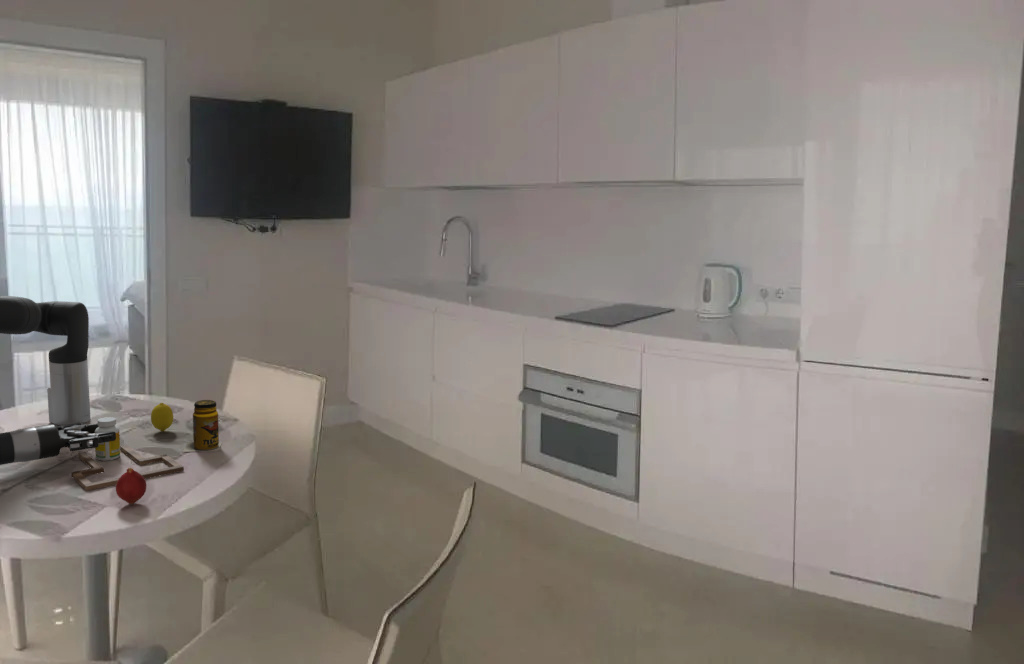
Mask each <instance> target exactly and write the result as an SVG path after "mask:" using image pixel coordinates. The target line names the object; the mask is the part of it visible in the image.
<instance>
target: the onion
mask: <svg viewBox="0 0 1024 664" xmlns="http://www.w3.org/2000/svg"><path fill="white" fill-rule="evenodd" d="M140 473H141V472H138V471H136V470H134V468H133V467H128V468H127V469H126V471H125V472H124V473H122V474H121V475H120V478H119V477H118V478H119V479H118V481H117V484H116V485H115V492H116V495H117V496H118V498H119V499H121V500H122V501H124V502H125V503H127V504H128V505H133V504H136V503H137V502H138V501H139V500H141V499H142V498H143V496H144V495H145V493H146V492H147V480H146V479H144V477H143V476H142V475H141V474H140Z"/></svg>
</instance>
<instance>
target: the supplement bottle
mask: <svg viewBox="0 0 1024 664" xmlns="http://www.w3.org/2000/svg"><path fill="white" fill-rule="evenodd" d="M97 423H98V424H97V425H98V426H99V427H98V428H96V430H95V433H94V434H98V433H105V432H111V431H114V432H115V433H116V440H115V441H110V442H104V443H99V447H97V448H94V449H95V459H96V460H98V461H102V462H105V461H113V460H117V459H118V458H120V456H121V450H120V446H121V441H120V440H121V437H120V436H121V435H120V433H121V432H120V428H119V426H117V425H116V424H117V418H116V417H113V416H106V417H101V418H98V419H97Z"/></svg>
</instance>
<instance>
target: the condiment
mask: <svg viewBox="0 0 1024 664" xmlns="http://www.w3.org/2000/svg"><path fill="white" fill-rule="evenodd" d="M193 407H194V409H193V413H192V429H193V430H192V432H193V433H192V437H193V441H188V442H186V445H185V447H184V449H183V451H182V452H183V453H186V452H187V453H188V452H189V453H190V452H191V453H192V452H195V453H196V452H200V453H201V452H205V453H206V452H219V450H220V449H221V445H222V443H223V442H222V441H220V439H219V437H220V436H219V413H218V411H217V410H218V408H217V402H216V401H215V400H212V399H202V400H197V401H195V402H194V404H193ZM219 446H220V447H219Z"/></svg>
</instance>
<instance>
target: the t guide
mask: <svg viewBox="0 0 1024 664" xmlns="http://www.w3.org/2000/svg"><path fill="white" fill-rule="evenodd" d="M120 452H122V453H124V454H125V455H126V454H127V455H126V456H128V457H129V458H130V459H131V458H132V459H131V460H133V461H134V462H135V461H136V462H135V463H137V464H138V465H139V466H143V465H149V463H150V464H153V463H154V462H155V463H160V462H163V463H164V464H165V465H167V466H168V467H164V468H160V469H154V470H150V471H144V472H139V473H140V474H141V475H142V476H143V477H144V479H145V478H146V479H150V477H151V478H155V477H154V476H156V477H160V476H159V475H161V476H166V475H170V473H171V474H174V473H175V472H176V473H180V472H184V469H185V468H184V465H181V464H180V463H179V462H177V461H176V460H175V459H173V458H172V457H170V456H169V455H168V454H160V455H156V456H150V457H143V456H142V455H141V454H139V453H138V452H136V451H135V450H134V449H133V448H131V447H130V446H128V445H127V444H124V445H120ZM78 458H79V459H80V460H81V461H82V462H84V464H85V465H87V466H88V467H89V468H86V469H81V470H77V471H71V472H70V473H71V474H70V475H71V476H70V477H71V478H73V479H74V480H75V482H76V483H78V484H79V485H80V486H81V487H82V488H83V489H84V490H85V491H86V492H88V491H92V490H93V491H94V490H97V489H102V488H107V487H111V486H116V484H117V481H118V479H119V478H120V477H121V476H120V477H119V476H118V477H114V478H109V479H105V480H100V481H99V480H98V481H94V482H91V481H90V480H89V479H88V478H87V476H91V475H97V473H98V474H102V473H101V472H103V473H105V468H104V467H103V466H102V465H101V464H100V463H98V462H97V461H96V460H95V458H93V457H91V456H90V455H89V454H88V453H87V452H85V451H84V452H79V453H78ZM159 461H160V462H159ZM169 466H170V467H169ZM90 467H91V468H90ZM165 474H166V475H165ZM146 479H145V480H146Z"/></svg>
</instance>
